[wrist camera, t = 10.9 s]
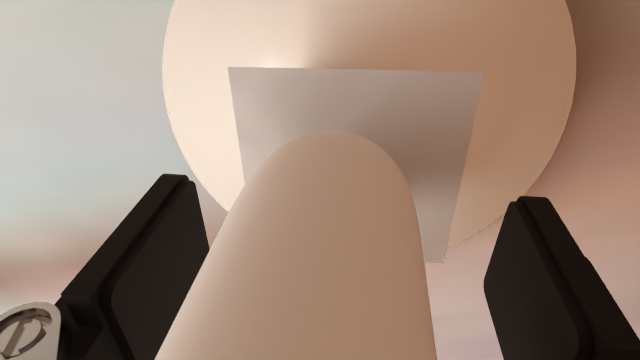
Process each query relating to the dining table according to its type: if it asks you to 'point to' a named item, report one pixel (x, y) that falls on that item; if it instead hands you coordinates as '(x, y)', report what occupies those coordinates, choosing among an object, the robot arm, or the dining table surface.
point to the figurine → (332, 216)
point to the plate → (381, 54)
